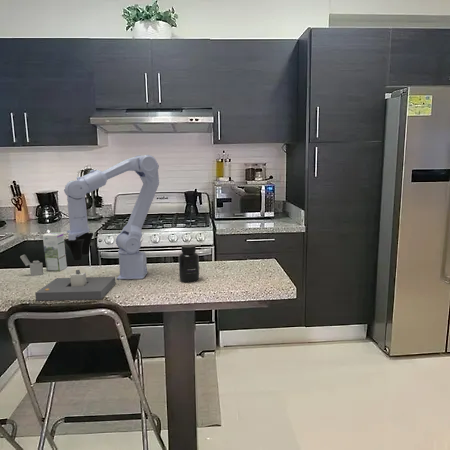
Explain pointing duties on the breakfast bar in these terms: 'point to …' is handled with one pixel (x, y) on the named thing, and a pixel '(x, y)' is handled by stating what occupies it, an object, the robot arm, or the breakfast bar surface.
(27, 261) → the lighter
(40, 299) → the socket block
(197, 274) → the supplement bottle
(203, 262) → the breakfast bar surface
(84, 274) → the plug
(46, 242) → the syrup box
